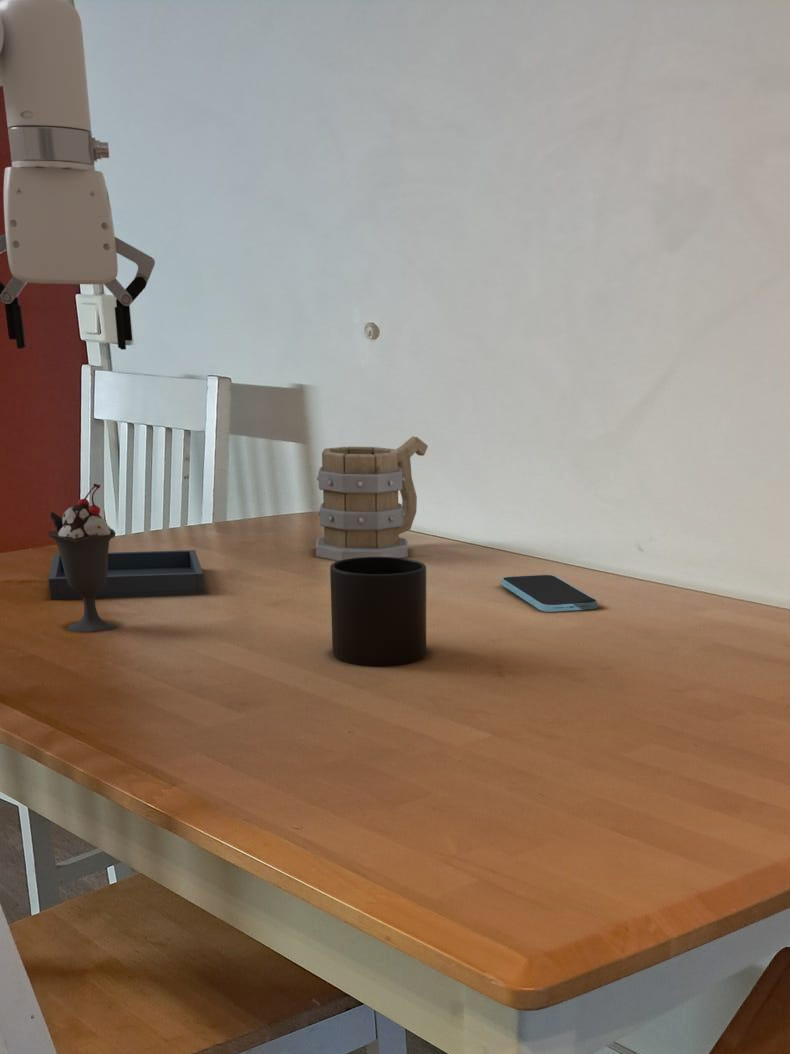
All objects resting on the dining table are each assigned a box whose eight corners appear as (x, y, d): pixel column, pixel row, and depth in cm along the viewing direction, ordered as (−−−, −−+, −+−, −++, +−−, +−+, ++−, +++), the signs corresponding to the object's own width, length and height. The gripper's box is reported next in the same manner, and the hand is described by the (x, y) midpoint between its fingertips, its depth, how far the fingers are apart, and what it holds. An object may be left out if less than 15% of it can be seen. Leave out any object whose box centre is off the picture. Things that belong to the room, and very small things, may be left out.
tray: (51, 601, 148) (48, 578, 147) (55, 574, 162) (53, 554, 161) (204, 595, 152) (203, 573, 151) (196, 570, 166) (195, 549, 165)
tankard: (361, 567, 170) (359, 450, 164) (297, 554, 177) (293, 441, 171) (460, 548, 184) (461, 439, 178) (397, 537, 191) (396, 432, 185)
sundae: (136, 628, 137) (123, 484, 131) (80, 638, 132) (64, 490, 126) (103, 617, 141) (89, 478, 135) (48, 627, 137) (31, 483, 131)
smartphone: (543, 605, 146) (498, 577, 159) (543, 615, 147) (498, 585, 159) (600, 602, 148) (552, 574, 161) (600, 611, 149) (551, 582, 162)
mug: (408, 636, 136) (408, 550, 132) (436, 665, 125) (436, 572, 122) (321, 640, 134) (318, 553, 130) (341, 670, 123) (339, 576, 119)
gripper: (145, 161, 126) (159, 347, 132) (-42, 153, 121) (-17, 346, 128) (148, 154, 119) (163, 350, 126) (-50, 145, 115) (-23, 349, 121)
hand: (72, 348), depth 127 cm, fingers open, 9 cm apart
